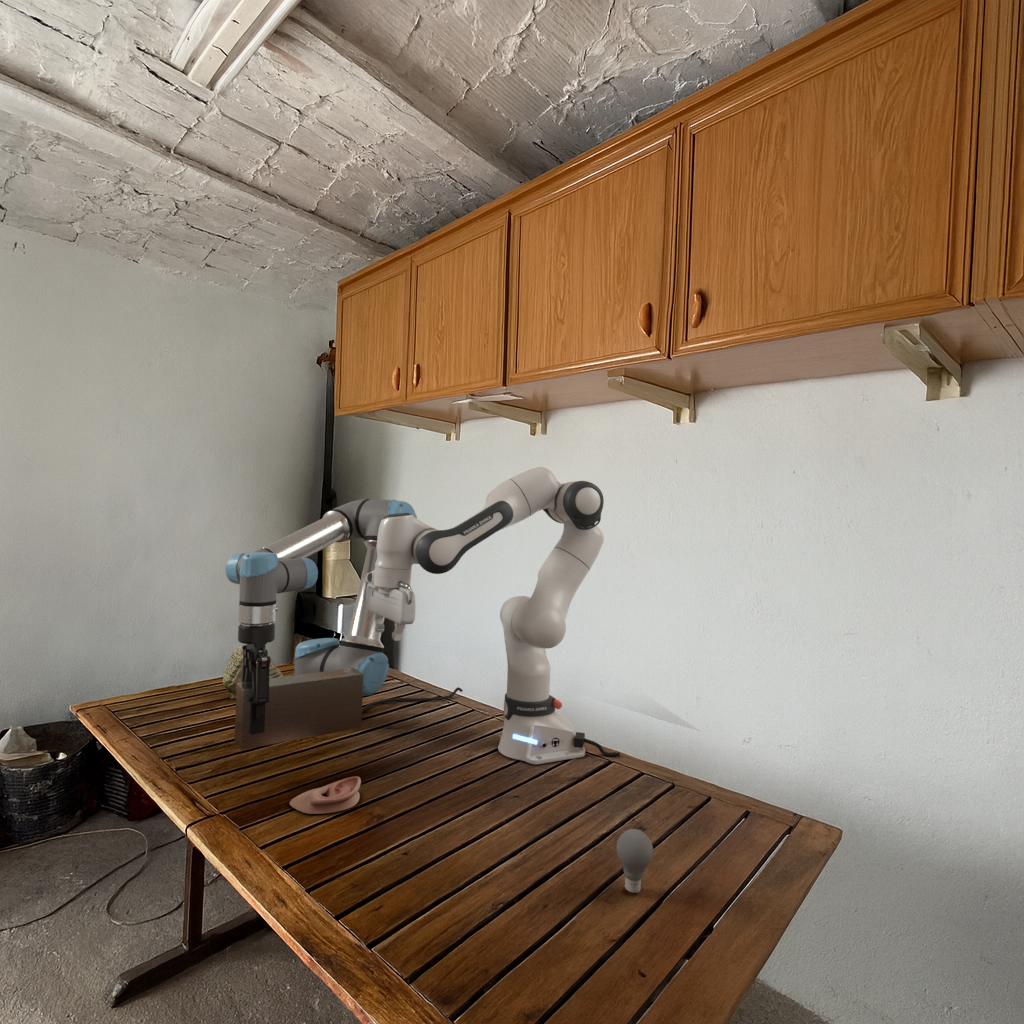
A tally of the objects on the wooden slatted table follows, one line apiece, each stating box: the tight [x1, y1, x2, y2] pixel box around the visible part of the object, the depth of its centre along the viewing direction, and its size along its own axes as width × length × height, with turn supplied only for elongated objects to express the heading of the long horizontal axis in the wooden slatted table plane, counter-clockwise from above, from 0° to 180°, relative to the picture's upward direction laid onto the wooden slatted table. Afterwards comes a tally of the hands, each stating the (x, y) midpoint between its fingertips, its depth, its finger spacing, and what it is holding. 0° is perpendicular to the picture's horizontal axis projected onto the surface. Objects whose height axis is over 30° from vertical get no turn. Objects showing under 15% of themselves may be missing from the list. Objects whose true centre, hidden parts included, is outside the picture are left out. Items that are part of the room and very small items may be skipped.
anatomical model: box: [289, 775, 362, 815], centre depth 131 cm, size 13×4×12 cm
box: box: [234, 668, 364, 751], centre depth 145 cm, size 27×6×13 cm, turn 126°
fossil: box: [222, 646, 285, 699], centre depth 198 cm, size 9×18×15 cm, turn 132°
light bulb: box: [615, 828, 654, 894], centre depth 106 cm, size 6×6×10 cm
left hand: (253, 727), depth 139 cm, fingers closed on box, 6 cm apart
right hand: (387, 635), depth 154 cm, fingers open, 8 cm apart
